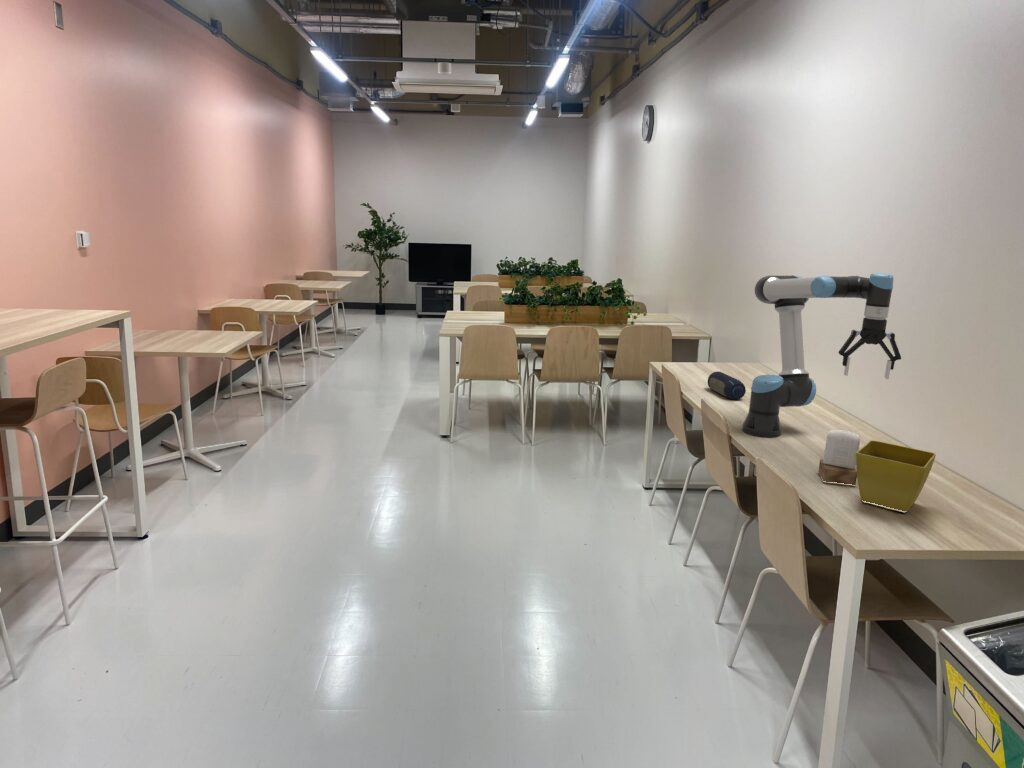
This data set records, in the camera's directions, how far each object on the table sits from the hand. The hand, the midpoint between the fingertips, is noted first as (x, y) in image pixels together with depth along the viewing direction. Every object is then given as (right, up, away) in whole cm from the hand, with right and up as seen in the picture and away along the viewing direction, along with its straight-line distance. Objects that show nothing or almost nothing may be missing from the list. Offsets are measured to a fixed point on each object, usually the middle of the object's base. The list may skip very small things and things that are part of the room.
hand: (866, 376), depth 257 cm
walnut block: (-17, -35, -13) cm, 41 cm away
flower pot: (-9, -40, -32) cm, 52 cm away
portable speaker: (-22, -8, +97) cm, 100 cm away
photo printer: (-16, -31, -14) cm, 37 cm away
